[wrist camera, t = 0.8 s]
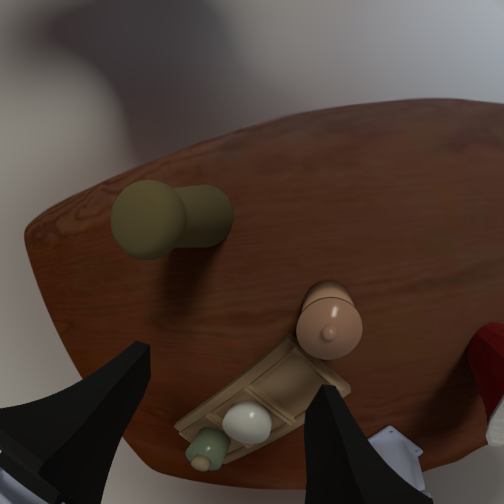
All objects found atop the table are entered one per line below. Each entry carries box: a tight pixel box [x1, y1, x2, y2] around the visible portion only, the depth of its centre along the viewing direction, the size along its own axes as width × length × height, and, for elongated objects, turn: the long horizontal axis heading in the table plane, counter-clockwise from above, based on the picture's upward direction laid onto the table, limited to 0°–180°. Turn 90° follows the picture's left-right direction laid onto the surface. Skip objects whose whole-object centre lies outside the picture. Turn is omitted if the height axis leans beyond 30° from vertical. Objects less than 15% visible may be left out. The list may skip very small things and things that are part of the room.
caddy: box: [173, 332, 351, 464], centre depth 27 cm, size 9×21×2 cm, turn 138°
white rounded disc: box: [222, 401, 273, 444], centre depth 26 cm, size 5×5×2 cm
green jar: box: [186, 427, 231, 471], centre depth 26 cm, size 4×4×5 cm
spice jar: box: [296, 280, 362, 360], centre depth 21 cm, size 5×5×7 cm
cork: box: [111, 180, 233, 260], centre depth 21 cm, size 6×6×11 cm
